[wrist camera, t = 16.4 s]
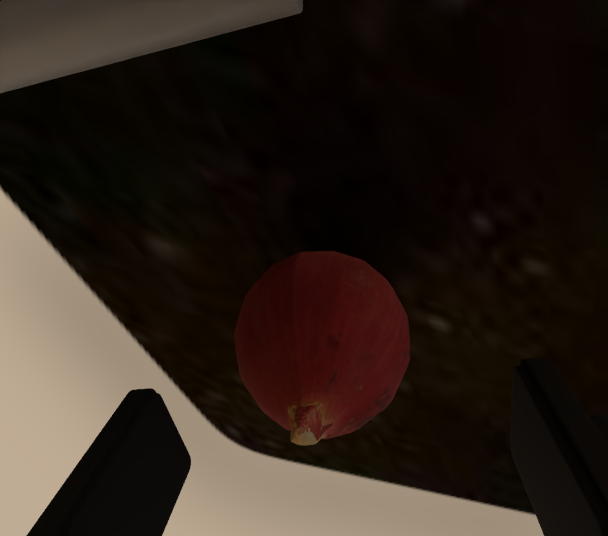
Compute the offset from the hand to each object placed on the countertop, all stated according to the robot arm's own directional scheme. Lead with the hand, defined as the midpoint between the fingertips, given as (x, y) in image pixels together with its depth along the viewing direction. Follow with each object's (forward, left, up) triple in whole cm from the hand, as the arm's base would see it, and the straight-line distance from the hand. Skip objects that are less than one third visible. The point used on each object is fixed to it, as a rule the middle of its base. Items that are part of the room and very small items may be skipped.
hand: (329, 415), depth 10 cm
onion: (0, 0, -7) cm, 7 cm away
